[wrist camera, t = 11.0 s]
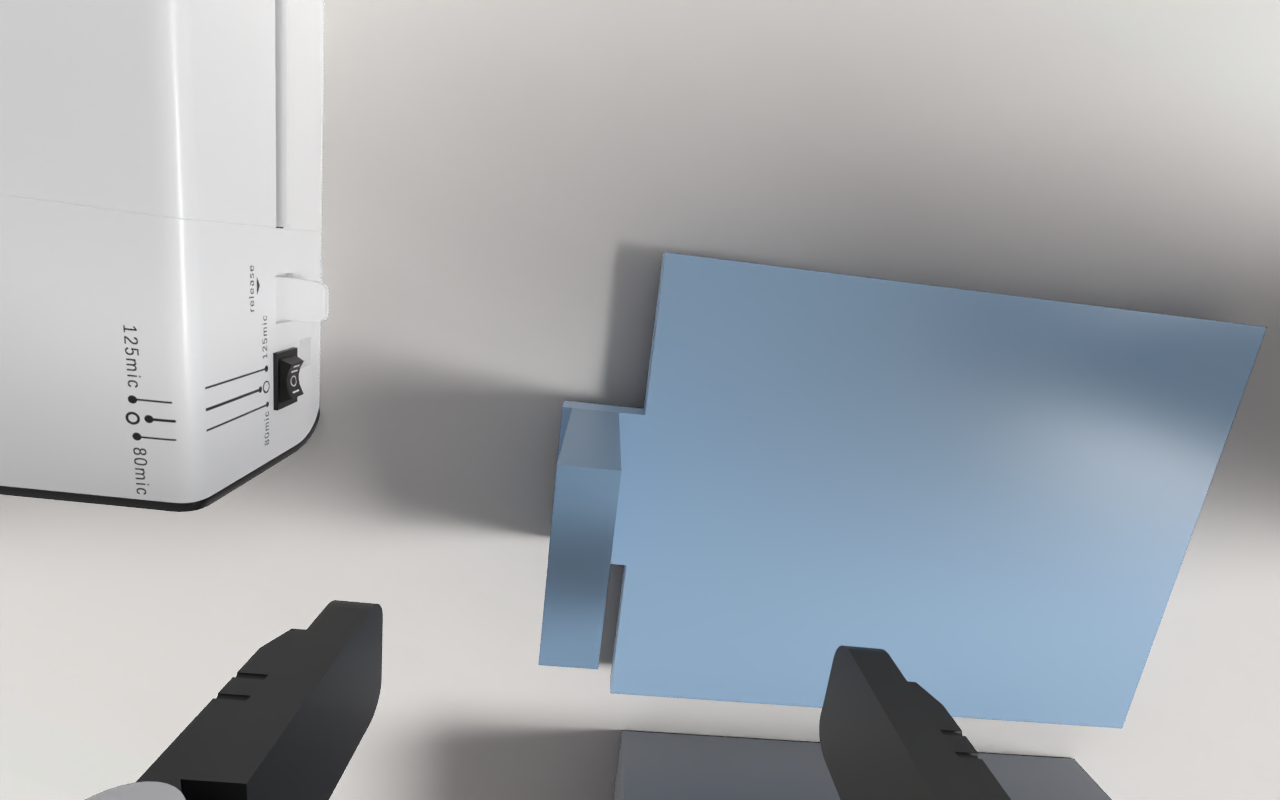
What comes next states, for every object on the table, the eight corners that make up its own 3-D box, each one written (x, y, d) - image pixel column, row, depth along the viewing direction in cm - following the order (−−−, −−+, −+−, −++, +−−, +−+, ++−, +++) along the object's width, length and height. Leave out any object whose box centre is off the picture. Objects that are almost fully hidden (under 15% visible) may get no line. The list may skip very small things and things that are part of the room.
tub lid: (580, 243, 18) (562, 233, 12) (1208, 321, 20) (1509, 352, 13) (542, 653, 22) (511, 828, 15) (1083, 692, 23) (1273, 867, 16)
